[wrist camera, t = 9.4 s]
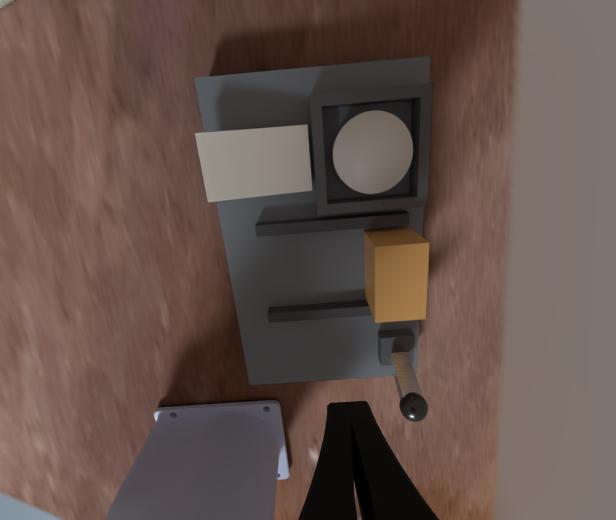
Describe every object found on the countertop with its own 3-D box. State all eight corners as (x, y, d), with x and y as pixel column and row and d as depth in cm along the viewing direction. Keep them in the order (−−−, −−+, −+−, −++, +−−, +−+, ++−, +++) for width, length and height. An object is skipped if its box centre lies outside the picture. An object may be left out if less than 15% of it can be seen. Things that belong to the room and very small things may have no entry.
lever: (386, 363, 19) (401, 427, 16) (388, 350, 18) (405, 415, 16) (409, 362, 19) (428, 425, 16) (412, 348, 18) (434, 413, 16)
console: (254, 365, 23) (246, 400, 20) (206, 85, 17) (184, 71, 14) (407, 355, 23) (423, 388, 20) (416, 65, 16) (441, 47, 13)
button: (333, 192, 17) (335, 196, 15) (329, 117, 15) (331, 114, 14) (403, 186, 16) (411, 190, 15) (404, 110, 15) (414, 106, 14)
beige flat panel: (209, 199, 16) (207, 202, 15) (196, 134, 14) (194, 133, 14) (308, 188, 16) (312, 190, 16) (303, 125, 15) (307, 124, 15)
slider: (365, 295, 19) (375, 322, 16) (363, 230, 17) (374, 246, 15) (407, 292, 19) (425, 319, 16) (409, 226, 17) (429, 242, 14)
